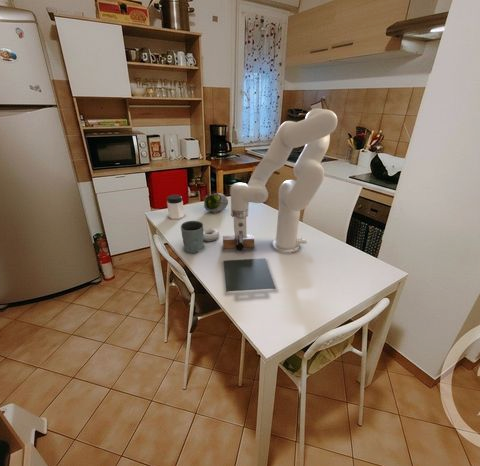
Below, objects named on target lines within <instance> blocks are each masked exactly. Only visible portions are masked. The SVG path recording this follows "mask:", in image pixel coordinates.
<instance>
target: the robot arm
mask: <svg viewBox="0 0 480 466" xmlns="http://www.w3.org/2000/svg"><path fill="white" fill-rule="evenodd" d="M337 126H338V117H337V114H336V113H335V111H333V110H331V109H326V108H313V109H310V110H309V111H308V112H307V113H306V115H305V118H304V119H302V120H299V121H294V120H286V121H284V122H283V123H281V125H280V126H279V128H278V129H277V130H276V133H275V135H274V137H273V139H272V141H271V143H270V145H269V147H268V149H267V151H266V153H265V155H264V156H263V158H262V159H261V160H260V161H259V163H258V164H257V166H256V167H255V169H254V170H253V172H252V173H251V177H250V178H249V180H248V183H245V182H235V183H233V184H231V186H230V216H231V217H232V218H233V231H234V236H235V237H236V239H237V243H236V249H235V250H236V251H239V252H240V251H243V250H244V249H243V237H244V238H245V239H246V238H247V235H248V234H247V217H249V203H252V204H263V203H265V202H266V201H267V200H268V199H269V191H268V189H267V187H266V184H267V182H268V180H269V179H270V178H271V176H272V174H274V173H275V172H276V171H278V170H280V169H281V168H283V167H284V166H285V164H286V163H287V160H288V158H289V157H290V155H291V153H292V151H293V150H294V149H296V148H301V147H303V146H304V147H303V149H302V151H301V153H300V155H299V156H298V159H297V160H296V162H295V163H294V166H293V169H292V173H293V175H294V176H295V178H296V180H295V179H288V180H287V179H286V180H285V181H283V182H282V183H281V184H280V186H279V188H278V210H277V211H278V213H277V214H278V215H277V223H276V233H275V234H276V236H275V239H274V240H273V241H272V242H271V244H272V246H273V247H274V248H275V249H276V250H279V251H281V252H290V253H295V252H297V251H298V250H299V249H300V245H303V244H305V245H306V244H307V242H308V240H307V239H303V237H298V232H299V225H300V218H301V217H300V216H301V211H302V210H304V209H306V208H307V206H308V205H309V204H310V203H311V201H312V200H313V198H314V196H315V195H316V193H317V192H318V190H319V188H320V187H321V185H322V183H323V181H324V178H325V170H324V166H323V165H322V163H321V162H322V160H324V158H325V155H326V154H327V151H328V149H329V148H330V147H329V146H330V142H331V134H333V132H334V131H335V130H336V128H337ZM238 236H239V237H238ZM238 239H239V241H238Z"/></svg>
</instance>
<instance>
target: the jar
mask: <svg viewBox="0 0 480 466" xmlns="http://www.w3.org/2000/svg"><path fill="white" fill-rule="evenodd" d="M166 205H167V213H168V217H169V218H170V219H171V220H179V219H182V218H183V217H185V210H184V201H183V197H182V195H180V194H171V195H168V196H166Z"/></svg>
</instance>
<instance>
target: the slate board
mask: <svg viewBox="0 0 480 466" xmlns="http://www.w3.org/2000/svg"><path fill="white" fill-rule="evenodd" d="M223 269H224V282H225V290H226V292H243V291H256V290H258V291H259V290H272V289H276V286H275V283H274V279H273V277H272V274H271V271H270V269H269V266H268V262H267V259H266V258H248V259H246V258H245V259H228V260H227V259H226V260H225V259H224V260H223Z"/></svg>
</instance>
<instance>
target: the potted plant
mask: <svg viewBox="0 0 480 466" xmlns="http://www.w3.org/2000/svg"><path fill="white" fill-rule="evenodd" d="M228 205H229V200H228V197H227V196H225V194H223V193H221V192H219V193H217V192H216V193H215V192H214V193H211V194H207V195H206V196H205V197H204V201H203V208H204V209H205V210H206V211H209V212H212V213H213V214H217V213H219V212H223V211H224V210H225V209H226V208H227V206H228Z"/></svg>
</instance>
